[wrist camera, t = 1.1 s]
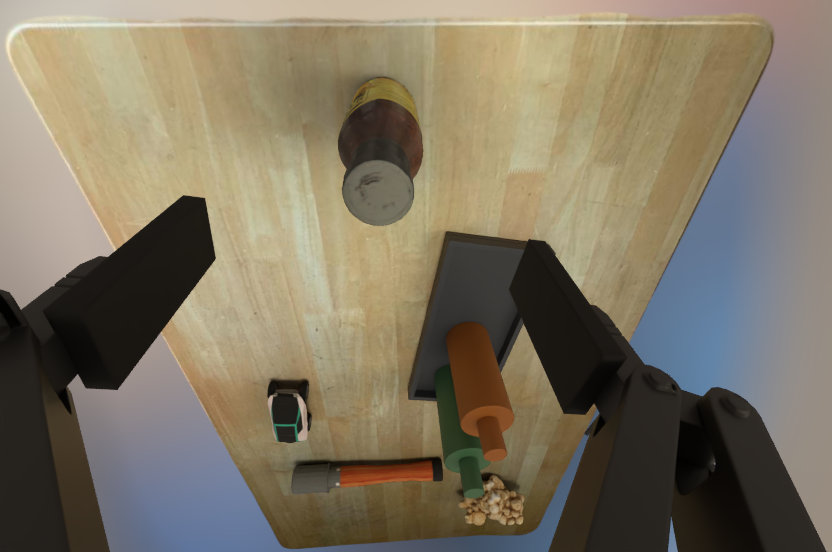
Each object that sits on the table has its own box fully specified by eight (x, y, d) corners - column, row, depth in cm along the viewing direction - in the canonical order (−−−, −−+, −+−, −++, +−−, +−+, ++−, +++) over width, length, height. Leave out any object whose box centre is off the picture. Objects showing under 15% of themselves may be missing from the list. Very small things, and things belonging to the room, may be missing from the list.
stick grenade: (443, 469, 71) (288, 479, 68) (443, 490, 72) (291, 502, 69) (439, 449, 76) (295, 459, 73) (438, 470, 77) (297, 480, 74)
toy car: (278, 420, 64) (270, 449, 60) (271, 377, 57) (261, 406, 53) (312, 421, 65) (306, 449, 60) (308, 378, 58) (301, 407, 54)
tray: (446, 231, 44) (449, 240, 42) (549, 244, 46) (556, 253, 44) (407, 388, 61) (408, 399, 59) (483, 392, 63) (486, 404, 61)
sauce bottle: (355, 69, 33) (321, 112, 17) (420, 82, 34) (447, 135, 18) (350, 140, 37) (317, 231, 21) (409, 150, 38) (422, 245, 22)
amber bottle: (451, 319, 51) (475, 438, 37) (493, 323, 52) (533, 440, 37) (441, 350, 55) (460, 469, 40) (481, 353, 56) (513, 471, 41)
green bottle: (438, 361, 56) (455, 480, 42) (477, 364, 57) (506, 481, 43) (430, 387, 60) (443, 504, 45) (467, 389, 61) (491, 505, 46)
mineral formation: (487, 468, 78) (537, 486, 83) (451, 483, 86) (499, 499, 91) (489, 510, 72) (544, 527, 77) (451, 522, 80) (502, 537, 85)
